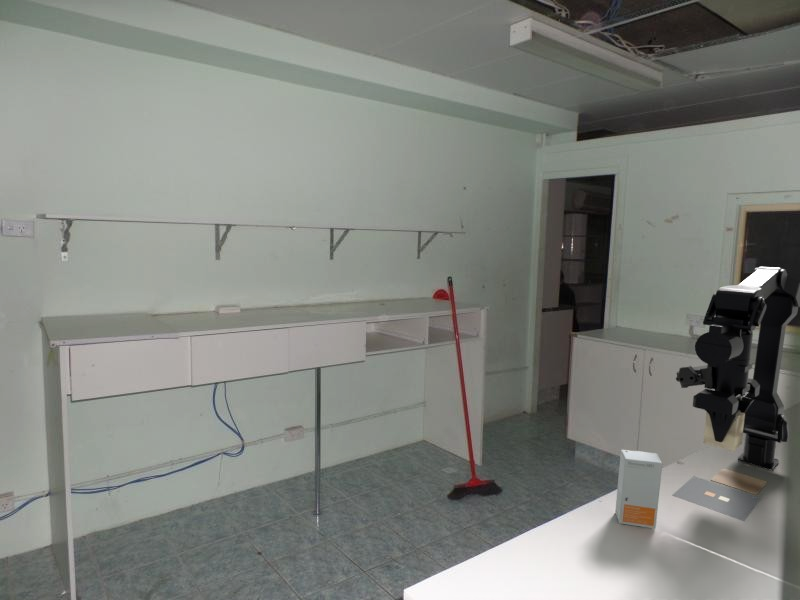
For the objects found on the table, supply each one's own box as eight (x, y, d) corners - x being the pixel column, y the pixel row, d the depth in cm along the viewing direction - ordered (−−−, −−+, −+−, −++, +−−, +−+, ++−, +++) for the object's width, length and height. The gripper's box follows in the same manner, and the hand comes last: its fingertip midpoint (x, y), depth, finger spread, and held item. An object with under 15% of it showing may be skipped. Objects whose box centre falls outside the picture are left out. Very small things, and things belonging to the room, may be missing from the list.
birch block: (712, 435, 103) (715, 406, 102) (741, 443, 99) (745, 413, 98) (703, 442, 99) (706, 412, 99) (733, 451, 96) (737, 419, 95)
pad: (722, 469, 113) (722, 468, 113) (767, 483, 107) (767, 481, 107) (710, 481, 107) (710, 479, 107) (756, 496, 102) (756, 494, 102)
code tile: (693, 476, 109) (693, 475, 109) (762, 499, 101) (762, 497, 101) (671, 496, 101) (671, 495, 101) (744, 522, 92) (744, 520, 92)
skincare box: (618, 524, 91) (624, 458, 89) (615, 512, 95) (619, 448, 93) (657, 530, 89) (663, 462, 88) (651, 516, 94) (657, 452, 92)
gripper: (700, 342, 109) (693, 415, 111) (666, 356, 97) (659, 437, 99) (764, 352, 101) (755, 430, 103) (735, 368, 89) (726, 457, 91)
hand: (723, 437), depth 99 cm, fingers closed on birch block, 5 cm apart
